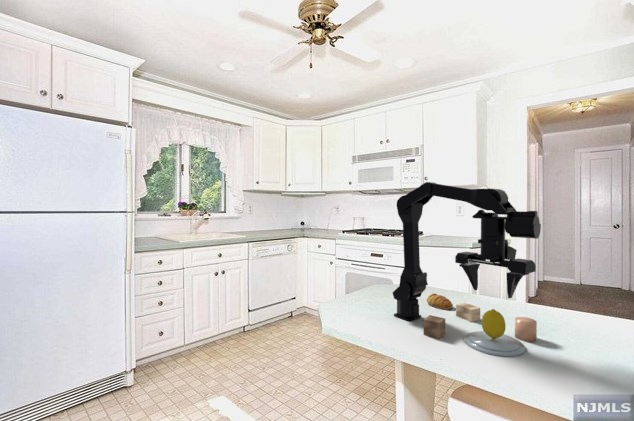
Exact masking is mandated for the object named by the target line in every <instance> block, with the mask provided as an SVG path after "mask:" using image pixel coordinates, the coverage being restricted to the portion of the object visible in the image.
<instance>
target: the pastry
mask: <svg viewBox="0 0 634 421" xmlns="http://www.w3.org/2000/svg"><path fill="white" fill-rule="evenodd" d="M426 303H427V304H428V305H429V306H431V307H434V308H436V309H439V310H450V309H452V308H453V307H454V304H453V303H452V301H451V300H450V299H448V298H447V297H446V296H443V295H441V294H437V293H431V294H430V295H428V296H427V299H426Z"/></svg>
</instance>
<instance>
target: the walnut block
mask: <svg viewBox="0 0 634 421" xmlns="http://www.w3.org/2000/svg"><path fill="white" fill-rule="evenodd" d="M423 335H424V336H428V337H431V338H434V339H437V340H440V339H441V338H442V337H444V336H445V335H446V318H444V317H440V316H436V315H432V314H431V315H427V316H426V317H425V318H423Z"/></svg>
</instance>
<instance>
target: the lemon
mask: <svg viewBox="0 0 634 421" xmlns="http://www.w3.org/2000/svg"><path fill="white" fill-rule="evenodd" d="M506 326H507V325H506V320H505V318H504V316H503V315H502V313H501V312H499V311H497V310H496V309H494V308H492V309H491V310H490V309H489V310H486V311H485V312H484V314H483V315H482V318H481V328H482V331H484V332H485V333H486V334H487V335H488V336H490V337H491V338H492V339H496V338H499V337H501V336H502V335H503V334H505V333H506Z"/></svg>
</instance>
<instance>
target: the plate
mask: <svg viewBox="0 0 634 421" xmlns="http://www.w3.org/2000/svg"><path fill="white" fill-rule="evenodd" d="M463 340H464V341H463V342H464V343H465V344H466V345H467V346H468V347H470V348H471V349H473V350H475V351H478V352H480V353H483V354H487V355H491V356H498V357H507V358H509V357H518V356H521V355H523V354H524V353H525V352H526V346H525V344H524V343H522V342H521V340H519V339H517V338H514V337H513V336H510V335H507V334H505V333H504V334H503V335H502V336H501V337H499V338H496V339H492V338H491V337H490V336H488V335H487V334H486V333H485V332H484V331H483V330H476V331H472V332H468V333H466V334H465V335H464V339H463Z"/></svg>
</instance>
